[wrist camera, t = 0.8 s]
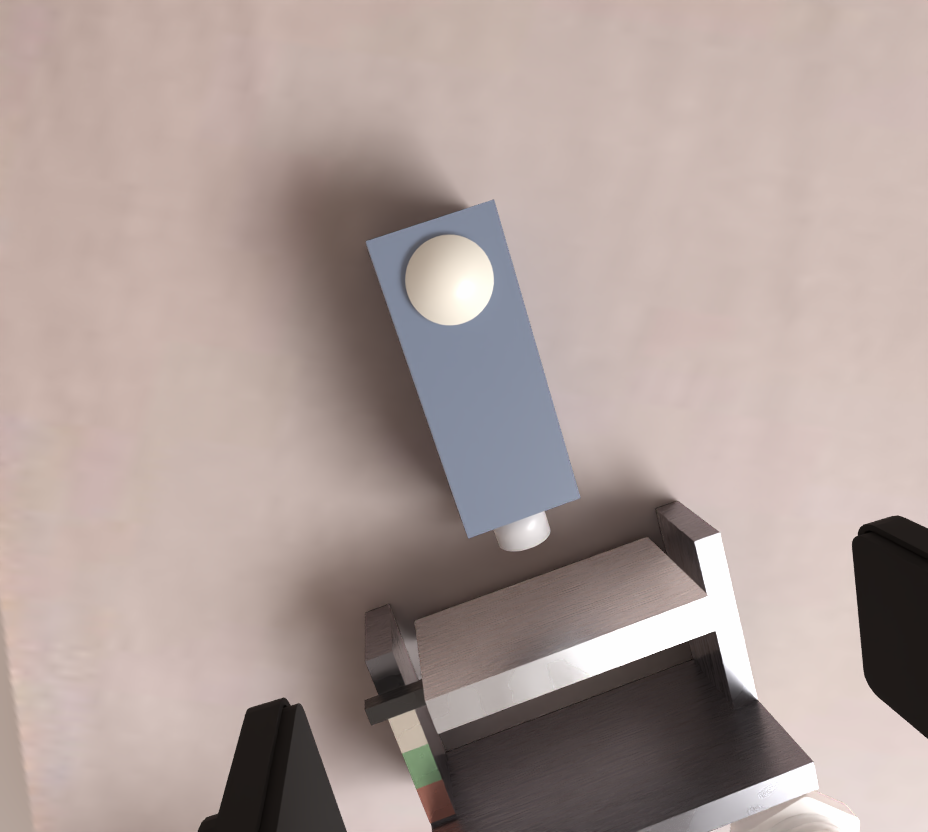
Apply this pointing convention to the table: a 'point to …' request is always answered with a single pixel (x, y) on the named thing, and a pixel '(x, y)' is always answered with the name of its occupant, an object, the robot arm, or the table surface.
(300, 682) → the table surface
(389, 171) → the table surface
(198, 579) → the table surface
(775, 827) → the pipe fitting
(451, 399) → the block
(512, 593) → the anvil plate
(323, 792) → the robot arm
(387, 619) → the gauge frame
